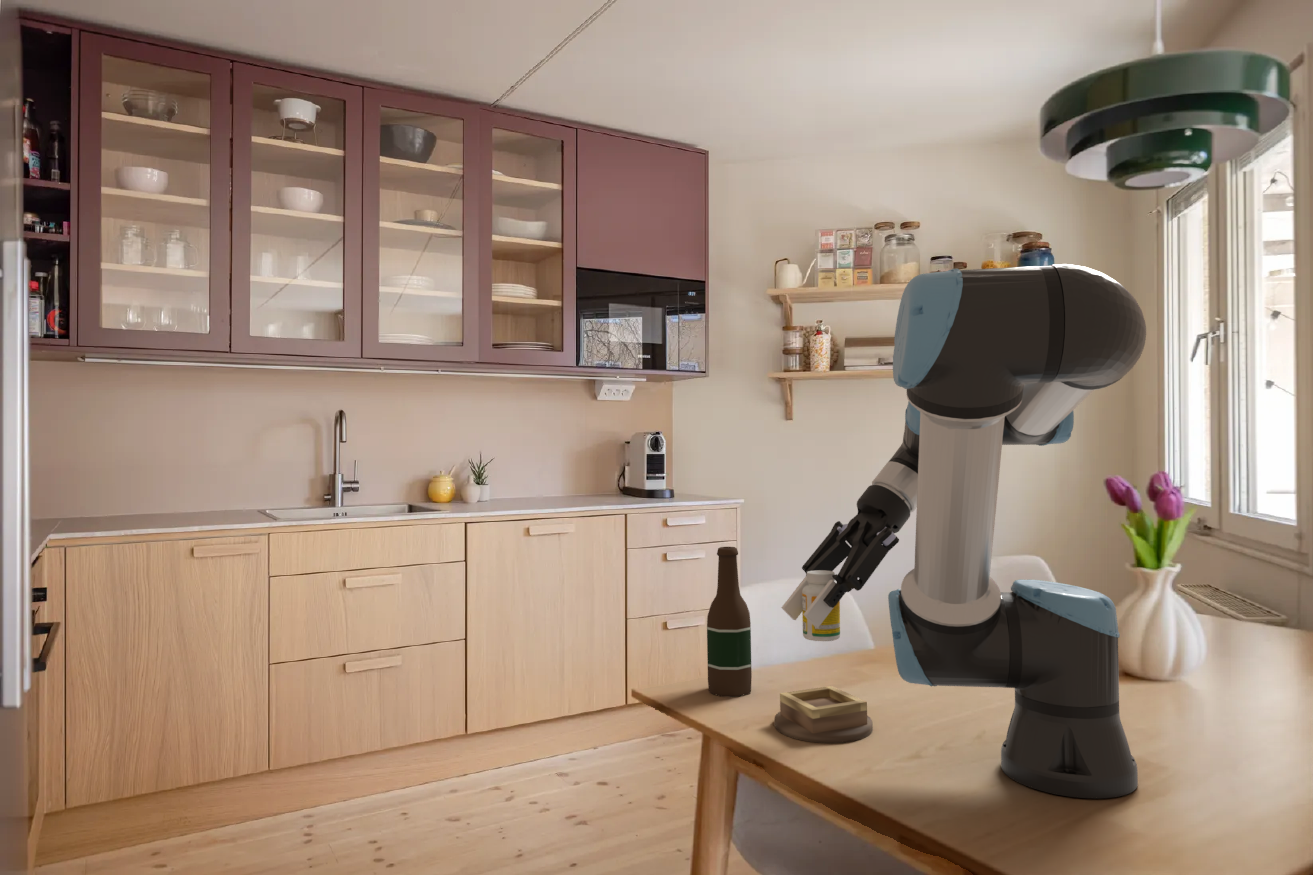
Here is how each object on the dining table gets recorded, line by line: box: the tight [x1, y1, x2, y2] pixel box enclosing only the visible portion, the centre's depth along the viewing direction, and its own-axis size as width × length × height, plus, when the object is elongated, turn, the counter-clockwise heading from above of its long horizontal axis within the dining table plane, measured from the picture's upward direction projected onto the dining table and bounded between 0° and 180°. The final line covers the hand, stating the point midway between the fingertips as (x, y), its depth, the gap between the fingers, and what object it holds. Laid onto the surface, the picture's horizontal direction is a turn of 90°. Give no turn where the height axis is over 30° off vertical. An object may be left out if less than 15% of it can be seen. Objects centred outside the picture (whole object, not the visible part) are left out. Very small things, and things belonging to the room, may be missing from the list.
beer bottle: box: [706, 546, 753, 697], centre depth 145 cm, size 8×8×24 cm
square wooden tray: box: [774, 685, 874, 744], centre depth 126 cm, size 14×14×4 cm
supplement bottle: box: [801, 570, 841, 642], centre depth 126 cm, size 5×5×10 cm
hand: (799, 617), depth 124 cm, fingers closed on supplement bottle, 5 cm apart
